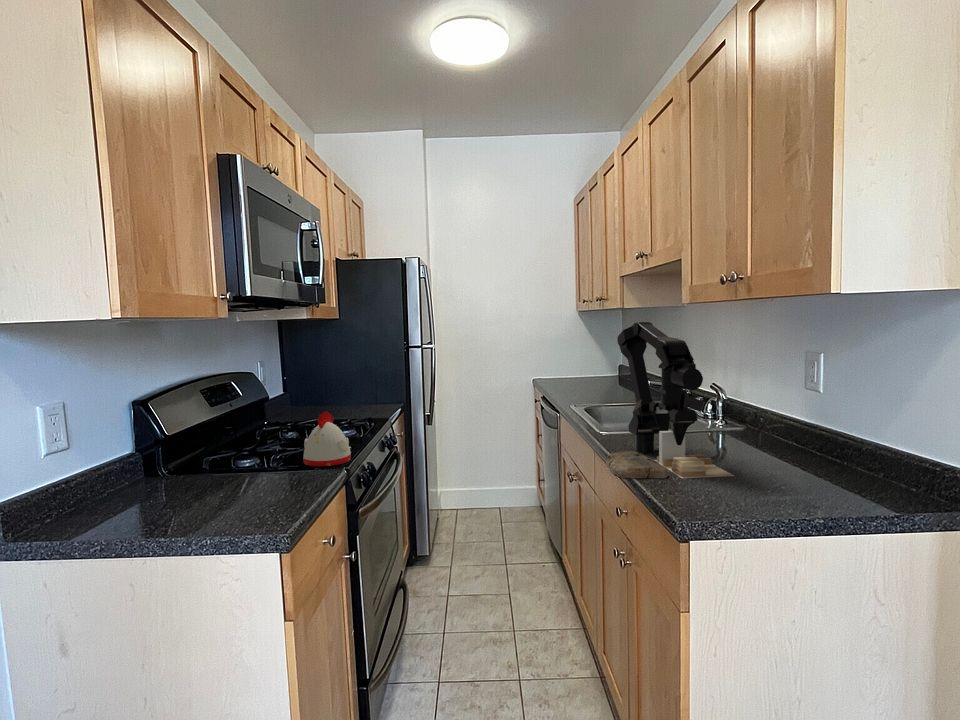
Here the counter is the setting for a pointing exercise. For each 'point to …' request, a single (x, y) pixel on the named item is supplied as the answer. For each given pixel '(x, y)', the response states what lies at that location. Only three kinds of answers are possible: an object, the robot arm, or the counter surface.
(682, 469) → the oak offcut
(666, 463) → the rack
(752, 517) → the counter surface
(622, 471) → the craggy brown boulder
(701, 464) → the pine offcut
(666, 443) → the panel
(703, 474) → the tan wooden square tile
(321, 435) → the kitchen timer
